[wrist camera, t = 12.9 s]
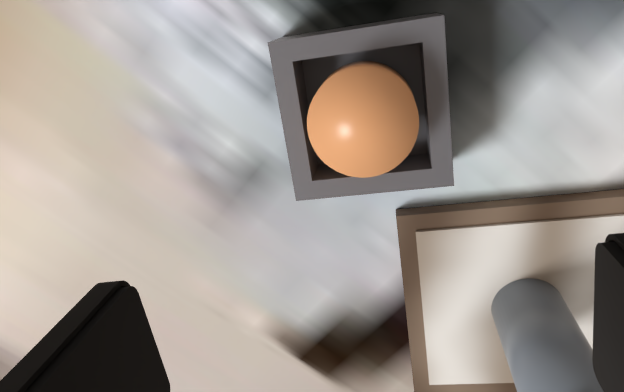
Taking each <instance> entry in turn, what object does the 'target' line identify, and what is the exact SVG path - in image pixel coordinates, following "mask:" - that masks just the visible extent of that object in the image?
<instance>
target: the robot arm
mask: <svg viewBox="0 0 624 392" xmlns="http://www.w3.org/2000/svg"><path fill="white" fill-rule="evenodd" d="M592 361H593V369H594V373H595V376H596V378H597V381H598V383H599V384H600V386H601V388H602V390H603V391H604V392H624V233H617V234H609V235H608V236H607V237H606V240H605V242H604V243H598V244H597V245H596V248H595V276H594V315H593V355H592ZM0 392H170V383H169V380H168V377H167V374H166V371H165V368H164V365H163V363H162V360H161V357H160V354H159V351H158V348H157V345H156V342H155V340H154V337H153V334H152V331H151V328H150V325H149V322H148V319H147V317H146V314H145V311H144V308H143V305H142V302H141V299H140V296H139V293H138V291H137V289H136V288H135V287H133V286H130V285H129V284H128V283H127V282H126V281H115V282H104V283H98V284H97V285H95V286H94V287H93V288H92V289H91V290H90V291H89V292H88V293H87V294H86V295H85V296H84V297H83V298H82V299H81V300H80V301H79V302H78V303H77V304H76V305H75V306H74V307H73V308H72V309H71V310H70V311H69V312H68V313H67V314H66V315H65V316H64V317H63V318H62V319H61V320H60V321H59V322H58V323H57V324H56V325H55V326H54V327H53V328H52V329H51V330H50V331H49V332H48V333H47V334H46V335H45V336H44V337H43V338H42V339H41V341H40V342H39V343H38V344H37V345H36V346H35V347H34V348H33V349H32V350H31V351H30V352H29V353H28V354H27V355H26V356H25V357H24V358H23V359H22V360H21V361H20V362H19V363H18V364H17V365H16V366H15V367H14V368H13V369H12V370H11V371H10V372H9V373H8V374H7V375H6V376H5V377H4V378H3V379H2V380H1V381H0Z"/></svg>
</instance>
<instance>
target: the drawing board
mask: <svg viewBox="0 0 624 392" xmlns="http://www.w3.org/2000/svg"><path fill="white" fill-rule="evenodd" d="M396 219H397V229H398V238H399V248H400V258H401V267H402V277H403V286H404V296H405V306H406V315H407V325H408V335H409V344H410V354H411V364H412V373H413V383H414V392H517V390H516V387H515V384H514V381H513V378H512V375H511V371H510V368H509V365H508V362H507V359H506V356H505V353H504V350H503V347H502V344H501V341H500V338H499V335H498V332H497V329H496V325H495V322H494V319H493V316H492V312H491V306H492V302H493V299H494V297H495V295H496V294H497V293H498V291H499V290H500V289H501V288H503V287H504V286H505V285H507V284H509V283H511V282H513V281H516V280H520V279H527V278H532V279H539V280H543V281H546V282H548V283H550V284H551V285H553V286H554V287H555V288H556V289H557V290H558V291H559V292H560V294H561V296H562V297H563V299H564V301H565V303H566V304H567V306H568V308H569V310H570V311H571V313H572V315H573V316H574V318H575V320H576V322H577V323H578V325H579V327H580V329H581V330H582V332H583V334H584V335H585V337H586V339H587V341H588V342H589V344H590V346H591V348H592V349H593V315H594V276H595V248H596V245H597V244H598V243H604V242H605V240H606V237H607V236H608V235H609V234H617V233H624V189H619V190H607V191H596V192H585V193H574V194H563V195H551V196H540V197H529V198H518V199H507V200H495V201H484V202H473V203H462V204H451V205H439V206H428V207H417V208H406V209H396Z"/></svg>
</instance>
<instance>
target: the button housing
mask: <svg viewBox="0 0 624 392" xmlns="http://www.w3.org/2000/svg"><path fill="white" fill-rule="evenodd" d="M268 46H269V52H270V57H271V63H272V69H273V74H274V80H275V85H276V91H277V96H278V102H279V108H280V113H281V119H282V124H283V130H284V135H285V141H286V147H287V152H288V158H289V163H290V169H291V174H292V180H293V185H294V191H295V197H296V201H299V200H310V199H320V198H331V197H341V196H352V195H362V194H372V193H383V192H393V191H404V190H414V189H425V188H435V187H445V186H454V177H453V159H452V142H451V125H450V107H449V90H448V72H447V55H446V37H445V20H444V15H442V14H439V13H432V14H425V15H419V16H413V17H406V18H400V19H394V20H387V21H381V22H375V23H368V24H362V25H356V26H349V27H343V28H337V29H330V30H324V31H318V32H311V33H305V34H299V35H292V36H286V37H281V38H279V39H276V40H274V41H271V42H269V43H268ZM357 61H374V62H379V63H382V64H385V65H387V66H389V67H391V68H392V69H394V70H395V71H397V72H398V73H399V74H400V75H401V76H402V77H403V78H404V79H405V80H406V82H407V83H408V85H409V86H410V88H411V91H412V93H413V96H414V99H415V102H416V106H417V109H418V114H419V131H418V135H417V139H416V142H415V144H414V147H413V148H412V150H411V152H410V153H409V155H408V156H407V157H406V158H405V159H404V160H403V161H402V162H401V163H400V164H399V165H398V166H397V167H395V168H394V169H392V170H390V171H389V172H386V173H384V174H381V175H378V176H374V177H366V178H359V177H352V176H347V175H344V174H341V173H339V172H337V171H335V170H333V169H332V168H330V167H329V166H328V165H326V164H325V163H324V162H323V161H322V160H321V159H320V158H319V156H318V155H317V154H316V152H315V151H314V149H313V147H312V145H311V142H310V140H309V136H308V131H307V115H308V110H309V107H310V103H311V101H312V99H313V97H314V95H315V94H316V92H317V91H318V89H319V88H320V86H321V85H322V84H323V82H324V81H325V80H326V79H327V77H328V76H329V75H330V74H332V73H333V72H334V71H335V70H337V69H338V68H340V67H342V66H344V65H346V64H349V63H352V62H357Z"/></svg>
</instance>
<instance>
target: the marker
mask: <svg viewBox="0 0 624 392" xmlns="http://www.w3.org/2000/svg"><path fill="white" fill-rule="evenodd" d="M491 312H492V316H493V319H494V322H495V325H496V329H497V332H498V335H499V338H500V341H501V344H502V347H503V350H504V353H505V356H506V359H507V362H508V365H509V368H510V371H511V375H512V378H513V381H514V384H515V387H516V390H517V392H604V391H603V390H602V388H601V386H600V384H599V383H598V381H597V378H596V376H595V373H594V369H593V361H592V355H593V349H592V348H591V346H590V344H589V342H588V341H587V339H586V337H585V335H584V334H583V332H582V330H581V329H580V327H579V325H578V323H577V322H576V320H575V318H574V316H573V315H572V313H571V311H570V310H569V308H568V306H567V304H566V303H565V301H564V299H563V297H562V296H561V294H560V292H559V291H558V290H557V289H556V288H555V287H554V286H553V285H551V284H550V283H548V282H546V281H543V280H539V279H532V278H527V279H520V280H516V281H513V282H511V283H509V284H507V285H505V286H504V287H503V288H501V289H500V290H499V291H498V293H497V294H496V295H495V297H494V299H493V302H492V306H491Z"/></svg>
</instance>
